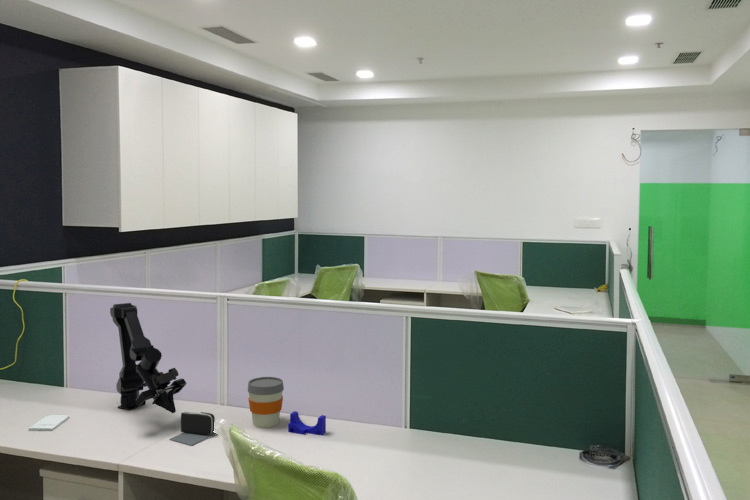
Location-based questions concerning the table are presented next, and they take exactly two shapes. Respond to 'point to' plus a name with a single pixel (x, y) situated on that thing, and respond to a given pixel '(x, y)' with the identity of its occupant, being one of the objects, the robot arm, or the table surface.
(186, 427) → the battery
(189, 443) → the mat
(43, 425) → the external hard drive
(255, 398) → the reusable coffee cup
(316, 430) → the blue cradle bracket
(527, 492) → the table surface
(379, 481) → the table surface
